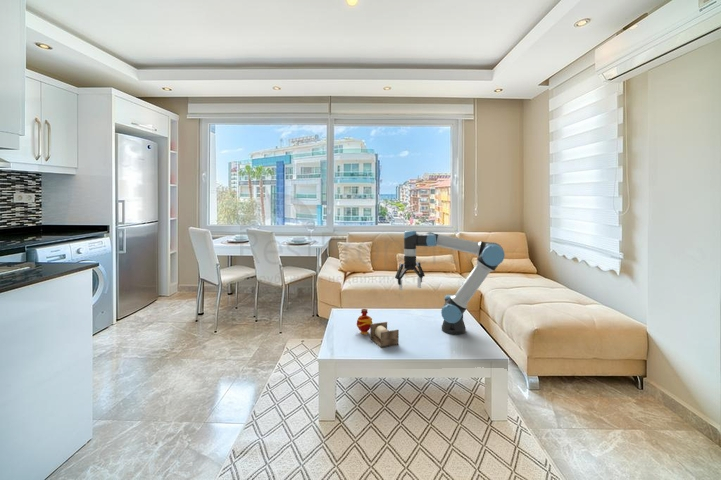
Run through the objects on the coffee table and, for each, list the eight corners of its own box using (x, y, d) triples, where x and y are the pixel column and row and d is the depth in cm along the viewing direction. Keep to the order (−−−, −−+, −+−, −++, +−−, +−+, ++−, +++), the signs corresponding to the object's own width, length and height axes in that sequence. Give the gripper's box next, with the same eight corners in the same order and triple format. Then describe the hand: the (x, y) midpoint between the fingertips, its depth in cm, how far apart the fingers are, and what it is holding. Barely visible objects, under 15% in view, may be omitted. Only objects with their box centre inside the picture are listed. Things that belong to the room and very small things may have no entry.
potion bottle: (358, 336, 214) (358, 312, 213) (355, 330, 225) (355, 307, 223) (374, 335, 216) (374, 311, 215) (370, 329, 227) (370, 307, 225)
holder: (386, 335, 215) (386, 321, 214) (398, 345, 201) (398, 329, 200) (370, 338, 211) (370, 324, 210) (381, 347, 197) (381, 332, 196)
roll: (384, 336, 212) (385, 325, 212) (392, 343, 202) (394, 331, 201) (373, 336, 210) (375, 325, 209) (382, 343, 199) (383, 331, 199)
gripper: (423, 253, 225) (423, 285, 227) (389, 255, 215) (389, 289, 217) (430, 254, 218) (430, 287, 220) (395, 257, 208) (395, 291, 210)
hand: (410, 288), depth 218 cm, fingers open, 13 cm apart
